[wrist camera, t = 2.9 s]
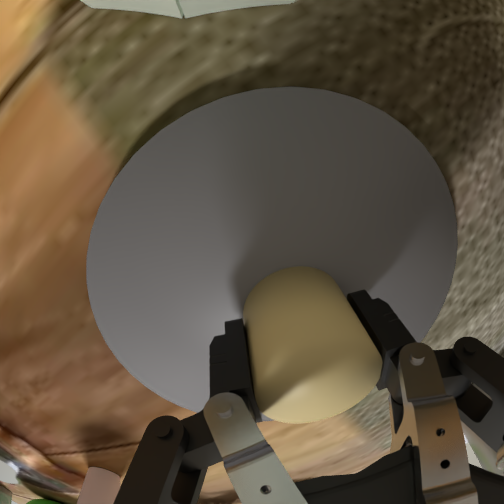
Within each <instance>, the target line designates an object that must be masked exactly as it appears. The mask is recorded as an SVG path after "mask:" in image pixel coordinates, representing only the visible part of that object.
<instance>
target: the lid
mask: <svg viewBox="0 0 504 504" xmlns="http://www.w3.org/2000/svg"><path fill="white" fill-rule="evenodd" d="M457 245H458V244H457V222H456V215H455V209H454V204H453V201H452V198H451V194H450V191H449V188H448V185H447V183H446V181H445V179H444V177H443V175H442V173H441V171H440V169H439V167H438V165H437V163H436V162H435V160H434V159H433V157H432V156H431V155H430V153H429V152H428V150H427V149H426V148H425V146H424V145H423V144H422V143H421V142H420V141H419V140H418V139H417V138H416V137H415V136H414V135H413V134H412V133H411V132H410V131H409V130H408V129H407V128H406V127H405V126H404V125H402V124H401V123H400V122H398V121H397V120H395V119H394V118H392V117H391V116H390V115H388V114H387V113H385V112H384V111H382V110H380V109H378V108H376V107H374V106H372V105H370V104H368V103H365V102H363V101H361V100H359V99H357V98H354V97H350V96H347V95H343V94H340V93H336V92H332V91H328V90H323V89H314V88H304V87H277V88H264V89H256V90H251V91H247V92H243V93H239V94H234V95H231V96H227V97H223V98H220V99H218V100H215V101H213V102H211V103H208V104H206V105H204V106H201V107H199V108H197V109H195V110H192V111H190V112H188V113H187V114H185V115H184V116H182V117H180V118H179V119H177V120H176V121H174V122H172V123H171V124H169V125H168V126H166V127H165V128H163V129H162V130H160V131H159V132H158V133H157V134H156V135H154V136H153V137H152V138H151V139H150V140H149V141H148V142H147V143H146V144H144V145H143V146H142V147H141V148H140V149H139V150H138V151H137V152H136V153H135V154H134V155H133V156H132V157H131V159H130V160H129V161H128V162H127V164H126V165H125V166H124V167H123V169H122V170H121V171H120V173H119V174H118V175H117V177H116V178H115V179H114V181H113V183H112V184H111V186H110V188H109V190H108V192H107V194H106V195H105V197H104V199H103V201H102V203H101V205H100V207H99V210H98V213H97V216H96V218H95V221H94V224H93V227H92V230H91V234H90V240H89V246H88V252H87V287H88V293H89V299H90V305H91V308H92V311H93V314H94V317H95V320H96V323H97V326H98V328H99V330H100V332H101V334H102V336H103V338H104V340H105V342H106V343H107V345H108V346H109V348H110V349H111V351H112V352H113V354H114V355H115V356H116V358H117V359H118V361H119V362H120V363H121V364H122V365H123V366H124V367H125V368H126V369H127V370H128V371H129V372H130V373H131V375H133V376H134V377H135V378H136V379H137V380H138V381H140V382H141V383H142V384H143V385H145V386H146V387H147V388H149V389H150V390H152V391H153V392H155V393H156V394H158V395H159V396H161V397H162V398H164V399H166V400H168V401H170V402H172V403H174V404H176V405H178V406H181V407H183V408H186V409H189V410H191V411H194V412H197V413H199V412H200V411H201V410H202V409H203V408H204V406H205V404H206V402H207V401H208V400H209V398H210V372H209V366H210V364H209V358H210V356H209V346H210V344H211V342H212V340H213V338H214V336H218V335H223V334H225V321H230V320H235V319H240V318H242V319H243V322H244V326H245V332H246V339H247V346H248V353H249V360H250V367H251V374H252V381H253V388H254V395H255V399H256V402H257V405H258V408H259V410H260V412H261V415H262V421H273V420H276V421H279V422H284V423H309V422H315V421H320V420H324V419H327V418H330V417H333V416H335V415H338V414H340V413H342V412H344V411H346V410H348V409H349V408H351V407H353V406H354V405H356V404H357V403H358V402H360V401H361V400H362V399H363V398H364V397H366V396H367V395H368V394H369V393H370V392H371V390H372V389H373V388H374V387H375V385H376V384H377V382H378V380H379V378H380V374H381V369H382V363H383V362H382V358H381V355H380V354H379V352H378V350H377V348H376V347H375V345H374V343H373V342H372V340H371V338H370V337H369V335H368V333H367V332H366V330H365V328H364V327H363V325H362V323H361V322H360V320H359V318H358V317H357V315H356V313H355V312H354V310H353V309H352V307H351V305H350V304H349V302H348V300H347V294H348V293H352V292H356V291H360V290H363V289H365V290H366V291H367V292H368V294H369V295H370V297H371V298H372V299H375V298H380V299H381V300H383V301H385V302H386V303H388V304H389V306H390V307H391V308H392V309H393V311H394V313H396V315H397V316H398V317H399V319H400V320H401V321H402V323H403V324H404V325H405V327H406V328H407V329H408V331H409V332H410V334H411V335H412V336H413V338H414V339H415V340H416V342H419V343H420V342H421V341H422V339H423V338H424V337H425V335H426V334H427V332H428V331H429V329H430V328H431V326H432V325H433V323H434V321H435V320H436V318H437V316H438V314H439V312H440V310H441V308H442V306H443V304H444V302H445V299H446V296H447V294H448V291H449V288H450V285H451V282H452V278H453V273H454V269H455V264H456V255H457Z"/></svg>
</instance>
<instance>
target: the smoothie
mask: <svg viewBox="0 0 504 504" xmlns="http://www.w3.org/2000/svg"><path fill="white" fill-rule="evenodd" d="M119 489H120V477H119V476H118V475H117V474H115V473H113V472H111V471H109V470H106V469H102V468H98V467H89V469H88V471H87V474H86V477H85V480H84V483H83V486H82V489H81V492H80V495H79V498H78V501H77V504H113V503H114V501H115V498H116V496H117V494H118V491H119Z"/></svg>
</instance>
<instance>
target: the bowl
mask: <svg viewBox="0 0 504 504" xmlns="http://www.w3.org/2000/svg"><path fill="white" fill-rule="evenodd" d="M80 1H82V2H83V3H85V4H86V5H88V6H89V7H91V8H102V9H117V10H129V11H138V12H146V13H153V14H160V15H166V16H172V17H177V18H183V16H185V18H189V17H194V16H199V15H203V14H208V13H214V12H219V11H225V10H232V9H239V8H247V7H256V6H266V5H280V4H291V2H292V3H294V2H296V1H298V0H80Z"/></svg>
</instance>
